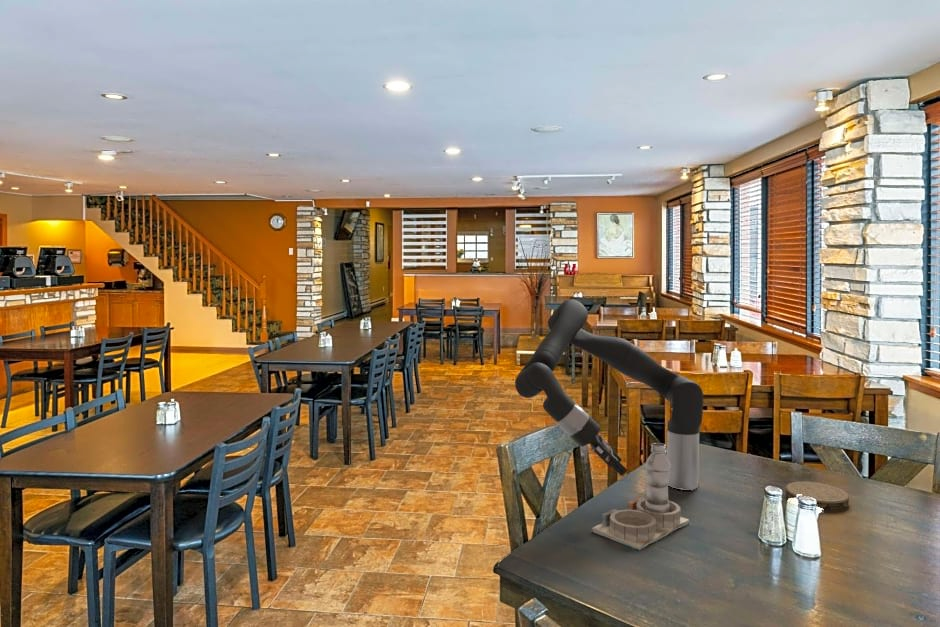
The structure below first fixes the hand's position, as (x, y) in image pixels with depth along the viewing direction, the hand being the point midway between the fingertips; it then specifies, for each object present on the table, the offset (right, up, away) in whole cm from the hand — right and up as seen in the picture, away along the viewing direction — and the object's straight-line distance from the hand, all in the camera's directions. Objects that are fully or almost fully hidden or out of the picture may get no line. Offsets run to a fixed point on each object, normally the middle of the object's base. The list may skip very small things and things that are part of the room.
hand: (621, 467), depth 168 cm
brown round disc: (+60, -14, +16) cm, 64 cm away
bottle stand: (+5, -15, -2) cm, 16 cm away
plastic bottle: (+10, -14, +1) cm, 17 cm away
